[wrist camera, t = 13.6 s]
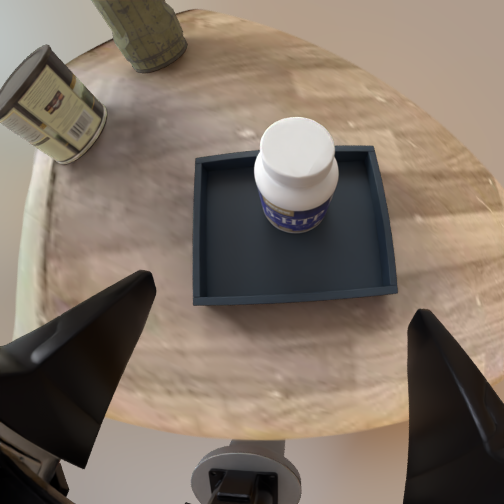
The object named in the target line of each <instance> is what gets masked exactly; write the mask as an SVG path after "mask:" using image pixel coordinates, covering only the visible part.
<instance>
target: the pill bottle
mask: <svg viewBox="0 0 504 504" xmlns="http://www.w3.org/2000/svg"><path fill="white" fill-rule="evenodd" d="M334 154H335V146H334V141H333V139H332V137H331V135H330V133H329V132H328V131H327V130H326V129H325V128H324V127H323V126H322V125H320V124H319V123H317V122H315V121H313V120H310V119H307V118H302V117H290V118H285V119H282V120H279V121H277V122H275V123H274V124H272V125H271V126H270V127H269V128H268V129H267V130H266V131H265V132H264V134H263V136H262V139H261V143H260V152H259V154H258V156H257V159H256V162H255V167H254V175H255V181H256V185H257V188H258V192H259V196H260V199H261V203H262V206H263V210H264V213H265V215H266V217H267V219H268V220H269V221H270V222H271V223H272V224H273V225H274V226H275V227H276V228H278V229H280V230H282V231H285V232H288V233H303V232H307V231H309V230H311V229H313V228H315V227H316V226H317V225H318V224H319V223H320V222H321V221H322V219H323V218H324V216H325V214H326V212H327V209H328V207H329V204H330V202H331V199H332V197H333V194H334V191H335V189H336V186H337V182H338V176H339V171H338V165H337V162H336V159H335V157H334Z"/></svg>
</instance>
